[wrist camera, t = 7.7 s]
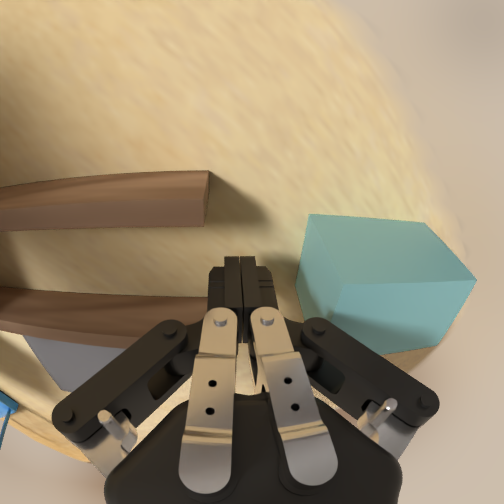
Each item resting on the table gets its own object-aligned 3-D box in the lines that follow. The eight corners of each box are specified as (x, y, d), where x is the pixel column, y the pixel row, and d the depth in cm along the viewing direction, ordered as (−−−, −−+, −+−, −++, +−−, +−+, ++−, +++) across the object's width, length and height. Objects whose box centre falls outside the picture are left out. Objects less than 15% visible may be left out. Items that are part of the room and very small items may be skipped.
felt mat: (17, 314, 19) (13, 320, 18) (126, 325, 20) (123, 333, 19) (63, 384, 25) (61, 389, 24) (154, 397, 26) (154, 404, 25)
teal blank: (308, 213, 16) (343, 284, 11) (423, 222, 17) (477, 279, 12) (294, 284, 19) (315, 361, 14) (399, 283, 19) (437, 345, 14)
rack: (-47, 197, 12) (-96, 241, 7) (208, 170, 14) (196, 231, 9) (-9, 296, 18) (-39, 346, 13) (213, 310, 19) (211, 389, 14)
